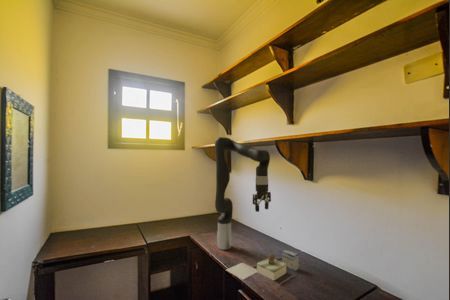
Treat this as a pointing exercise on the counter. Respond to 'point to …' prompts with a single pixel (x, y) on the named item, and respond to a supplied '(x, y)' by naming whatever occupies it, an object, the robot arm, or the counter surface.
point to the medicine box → (290, 260)
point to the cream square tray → (270, 274)
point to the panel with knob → (242, 270)
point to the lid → (271, 264)
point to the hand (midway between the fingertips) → (262, 210)
